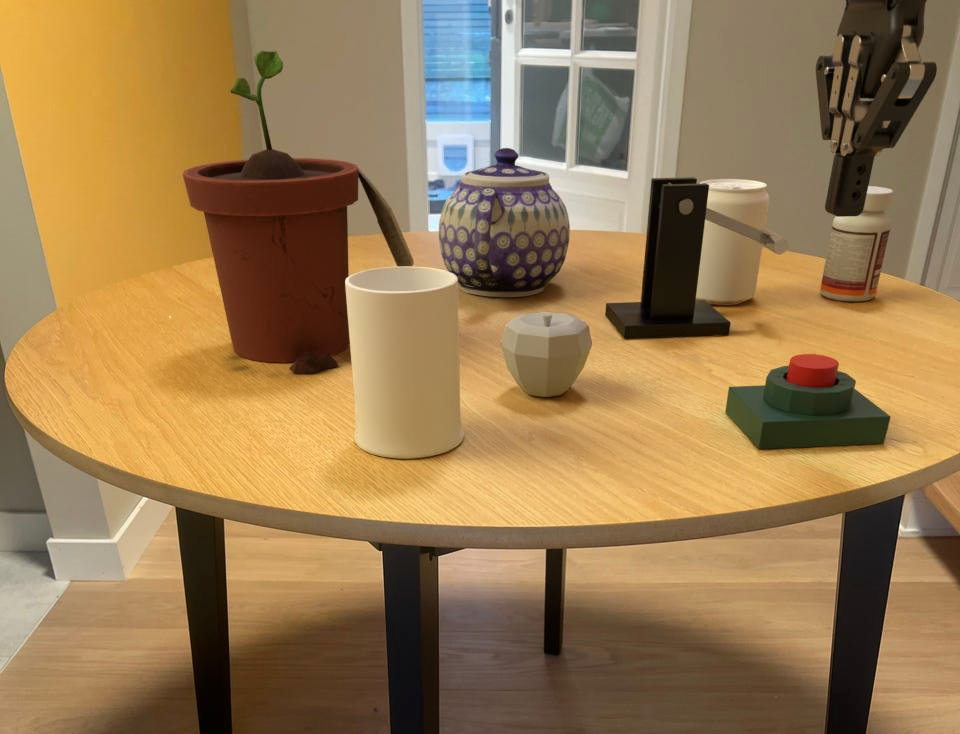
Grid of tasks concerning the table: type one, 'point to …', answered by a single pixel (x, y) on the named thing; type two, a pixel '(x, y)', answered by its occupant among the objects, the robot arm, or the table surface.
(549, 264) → the teapot
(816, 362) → the button
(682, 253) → the bracket
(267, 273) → the potted plant
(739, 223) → the lever
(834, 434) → the button box
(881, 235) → the pill bottle
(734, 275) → the beverage can
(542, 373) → the apple
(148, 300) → the table surface
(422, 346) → the mug
